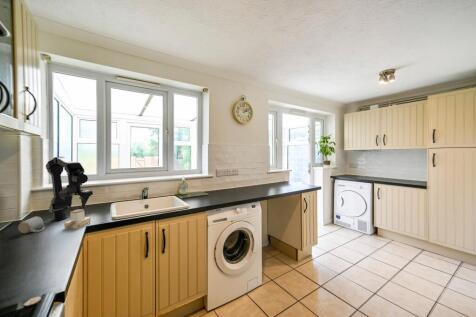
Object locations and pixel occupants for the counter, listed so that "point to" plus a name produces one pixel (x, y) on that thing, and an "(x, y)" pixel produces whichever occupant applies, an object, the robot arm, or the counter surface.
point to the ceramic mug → (31, 225)
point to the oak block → (77, 223)
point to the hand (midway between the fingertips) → (76, 207)
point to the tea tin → (77, 215)
